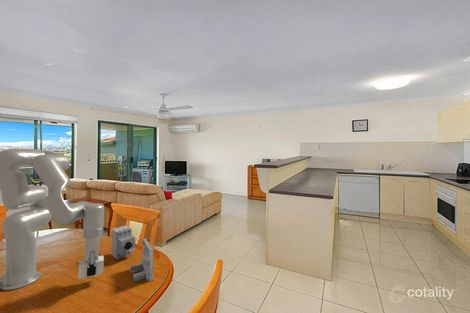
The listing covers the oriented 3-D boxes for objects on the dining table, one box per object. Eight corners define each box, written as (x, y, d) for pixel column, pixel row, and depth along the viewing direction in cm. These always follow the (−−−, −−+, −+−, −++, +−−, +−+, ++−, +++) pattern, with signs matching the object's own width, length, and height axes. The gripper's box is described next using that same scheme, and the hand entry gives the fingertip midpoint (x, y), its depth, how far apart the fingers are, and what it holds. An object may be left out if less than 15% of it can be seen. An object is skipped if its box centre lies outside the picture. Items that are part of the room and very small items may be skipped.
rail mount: (134, 286, 90) (134, 254, 90) (129, 269, 103) (129, 241, 103) (153, 280, 94) (153, 250, 94) (145, 264, 108) (145, 238, 107)
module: (78, 279, 87) (78, 264, 87) (78, 273, 91) (79, 259, 91) (103, 273, 92) (103, 259, 92) (102, 267, 96) (103, 254, 96)
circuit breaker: (122, 263, 109) (122, 235, 108) (111, 255, 117) (111, 229, 117) (136, 257, 115) (136, 231, 114) (124, 250, 123) (124, 225, 123)
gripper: (83, 226, 96) (81, 265, 96) (81, 240, 82) (79, 285, 82) (102, 224, 100) (100, 261, 101) (104, 237, 86) (101, 279, 87)
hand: (91, 271), depth 91 cm, fingers closed on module, 5 cm apart
